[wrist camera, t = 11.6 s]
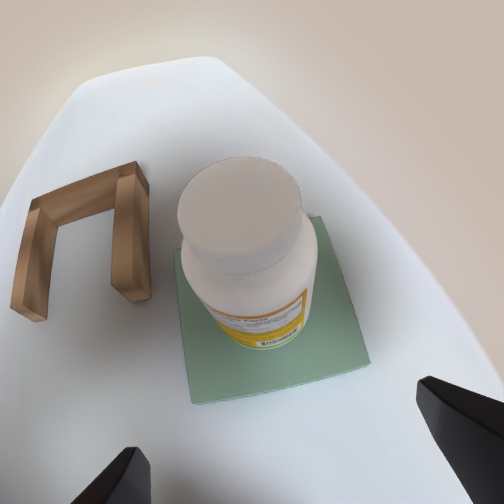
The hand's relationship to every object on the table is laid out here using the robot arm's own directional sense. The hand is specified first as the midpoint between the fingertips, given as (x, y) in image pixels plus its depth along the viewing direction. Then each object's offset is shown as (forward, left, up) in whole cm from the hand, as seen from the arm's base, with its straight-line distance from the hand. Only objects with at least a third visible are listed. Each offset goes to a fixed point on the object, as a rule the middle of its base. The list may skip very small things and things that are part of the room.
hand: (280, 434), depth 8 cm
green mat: (+7, -1, -9) cm, 11 cm away
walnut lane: (+16, +11, -9) cm, 21 cm away
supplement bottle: (+7, -1, -8) cm, 10 cm away
